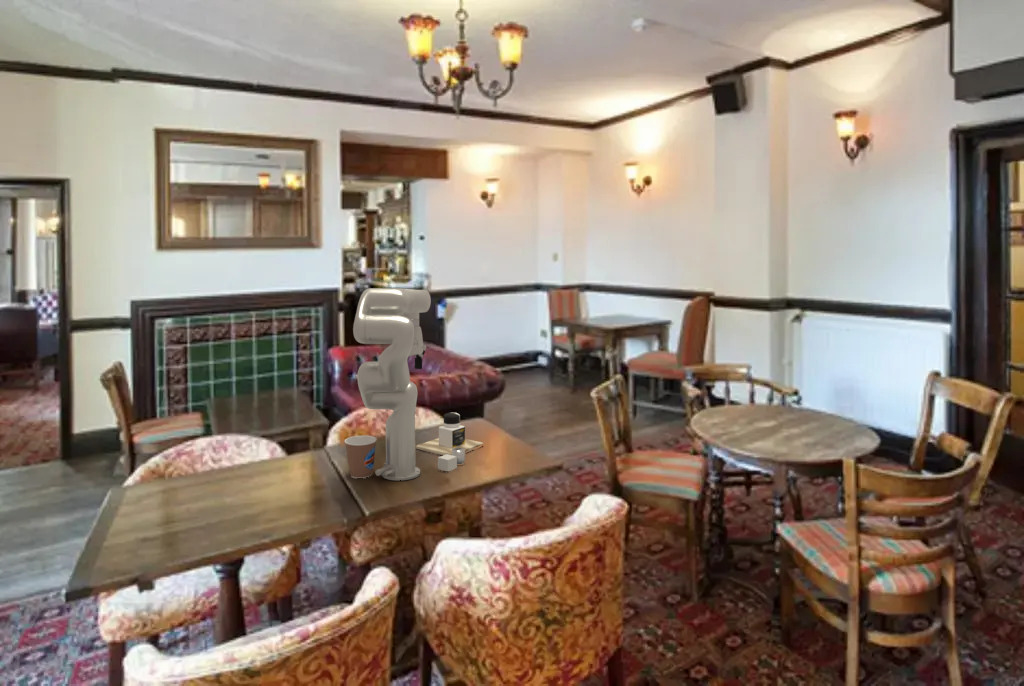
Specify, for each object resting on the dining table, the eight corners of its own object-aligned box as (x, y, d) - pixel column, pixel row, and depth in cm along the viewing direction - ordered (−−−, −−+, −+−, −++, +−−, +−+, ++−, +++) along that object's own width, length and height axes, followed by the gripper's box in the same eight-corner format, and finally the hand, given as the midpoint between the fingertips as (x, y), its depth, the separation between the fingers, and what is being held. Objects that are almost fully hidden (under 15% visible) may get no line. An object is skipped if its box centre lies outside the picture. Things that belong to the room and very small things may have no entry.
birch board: (452, 458, 228) (452, 454, 228) (415, 449, 238) (415, 445, 238) (483, 446, 242) (483, 442, 242) (447, 438, 253) (447, 434, 252)
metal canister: (459, 466, 219) (459, 452, 219) (449, 464, 222) (449, 450, 221) (467, 463, 223) (467, 449, 222) (457, 460, 226) (457, 447, 225)
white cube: (448, 472, 213) (448, 459, 213) (438, 470, 216) (438, 457, 215) (456, 469, 217) (456, 456, 216) (446, 466, 219) (446, 454, 219)
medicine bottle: (452, 448, 234) (452, 417, 233) (438, 445, 238) (438, 414, 237) (465, 444, 240) (465, 413, 238) (451, 441, 244) (450, 410, 242)
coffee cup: (369, 481, 204) (369, 445, 202) (339, 479, 206) (338, 443, 204) (382, 471, 214) (381, 436, 212) (353, 468, 216) (353, 434, 214)
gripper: (399, 326, 220) (399, 375, 222) (432, 322, 234) (433, 368, 236) (383, 325, 224) (384, 373, 226) (417, 321, 238) (418, 366, 241)
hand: (409, 370), depth 231 cm, fingers open, 9 cm apart
